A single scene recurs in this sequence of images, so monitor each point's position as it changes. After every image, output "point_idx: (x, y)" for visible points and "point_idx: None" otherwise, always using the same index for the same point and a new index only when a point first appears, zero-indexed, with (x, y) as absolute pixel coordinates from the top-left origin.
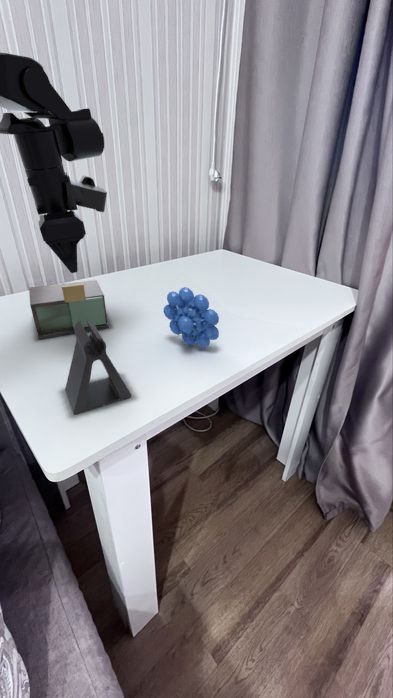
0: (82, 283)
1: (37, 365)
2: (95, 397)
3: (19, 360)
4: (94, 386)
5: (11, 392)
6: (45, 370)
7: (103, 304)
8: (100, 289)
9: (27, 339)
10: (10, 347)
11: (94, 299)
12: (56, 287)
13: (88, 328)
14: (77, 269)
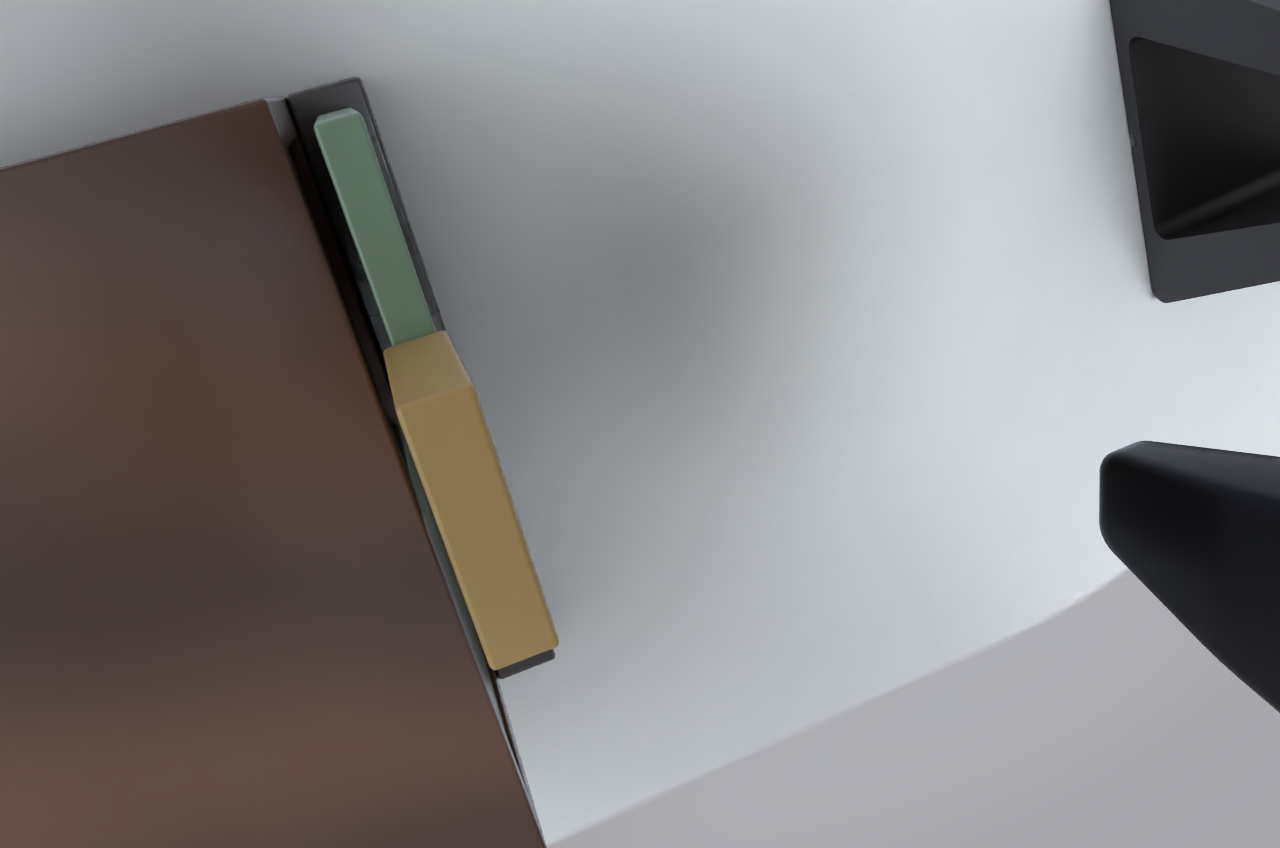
0: (412, 413)
1: (873, 535)
2: (1268, 112)
3: (801, 659)
4: (1180, 129)
5: (1083, 579)
6: (934, 471)
7: (352, 111)
8: (27, 173)
9: (538, 717)
10: (639, 776)
11: (397, 225)
12: (18, 789)
13: (428, 279)
14: (1184, 445)
